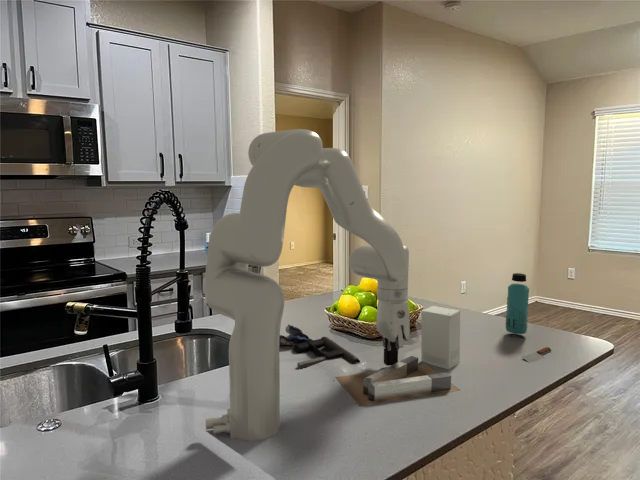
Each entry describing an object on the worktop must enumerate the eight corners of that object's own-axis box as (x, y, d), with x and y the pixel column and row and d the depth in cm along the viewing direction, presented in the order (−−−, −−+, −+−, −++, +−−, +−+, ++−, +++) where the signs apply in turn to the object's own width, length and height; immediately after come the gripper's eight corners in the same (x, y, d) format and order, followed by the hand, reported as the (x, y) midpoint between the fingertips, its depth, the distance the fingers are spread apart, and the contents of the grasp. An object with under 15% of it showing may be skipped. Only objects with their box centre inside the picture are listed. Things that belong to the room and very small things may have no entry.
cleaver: (535, 363, 126) (519, 353, 130) (533, 368, 126) (517, 358, 130) (563, 354, 133) (547, 345, 137) (561, 359, 133) (546, 349, 137)
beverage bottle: (528, 334, 150) (532, 273, 148) (524, 340, 145) (529, 276, 142) (506, 330, 154) (510, 270, 151) (502, 336, 148) (506, 274, 146)
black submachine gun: (309, 370, 117) (364, 356, 124) (279, 344, 134) (329, 333, 141) (309, 383, 117) (365, 368, 124) (280, 355, 135) (330, 344, 142)
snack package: (276, 337, 148) (268, 349, 136) (280, 317, 147) (271, 328, 136) (314, 345, 147) (308, 358, 135) (317, 325, 146) (312, 337, 134)
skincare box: (460, 368, 123) (462, 310, 121) (447, 375, 119) (450, 315, 117) (431, 359, 129) (433, 304, 127) (418, 366, 124) (420, 309, 122)
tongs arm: (368, 395, 104) (368, 382, 104) (361, 392, 105) (361, 379, 105) (418, 369, 118) (418, 357, 118) (410, 367, 120) (411, 355, 119)
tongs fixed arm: (370, 401, 101) (370, 387, 101) (366, 397, 103) (366, 383, 103) (450, 389, 108) (451, 375, 107) (445, 385, 110) (446, 372, 109)
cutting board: (359, 412, 100) (359, 405, 100) (335, 383, 114) (335, 377, 114) (460, 396, 107) (460, 390, 107) (426, 370, 122) (426, 365, 121)
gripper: (421, 300, 112) (418, 373, 114) (392, 286, 126) (390, 352, 128) (392, 302, 109) (390, 377, 112) (366, 288, 123) (365, 355, 126)
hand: (390, 363), depth 120 cm, fingers closed
